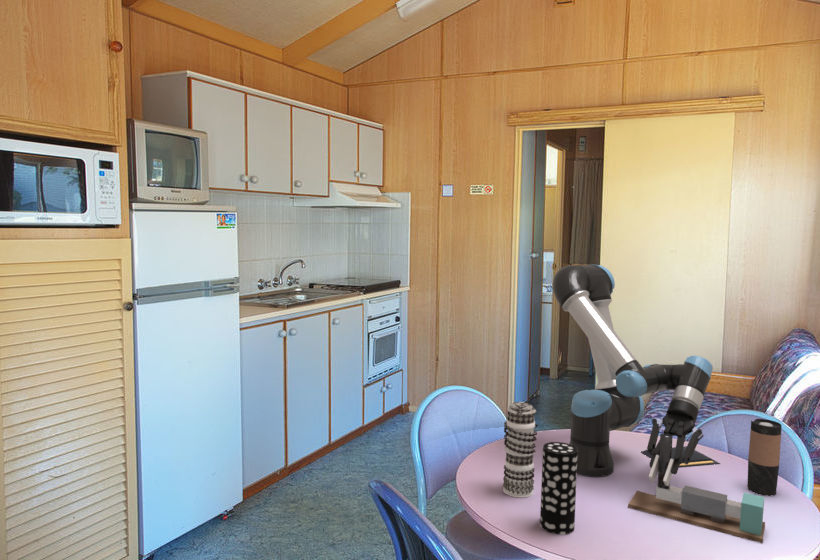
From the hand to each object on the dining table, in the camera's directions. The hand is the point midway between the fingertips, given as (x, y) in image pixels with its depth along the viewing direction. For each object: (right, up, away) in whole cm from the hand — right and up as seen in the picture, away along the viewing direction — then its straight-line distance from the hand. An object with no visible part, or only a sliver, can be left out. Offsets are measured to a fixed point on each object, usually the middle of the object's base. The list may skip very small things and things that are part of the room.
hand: (658, 481), depth 154 cm
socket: (+20, -10, -8) cm, 23 cm away
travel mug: (+36, -8, +16) cm, 40 cm away
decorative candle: (-34, -7, +12) cm, 37 cm away
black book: (+23, -7, +40) cm, 47 cm away
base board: (+9, -9, -1) cm, 13 cm away
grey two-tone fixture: (+10, -6, -2) cm, 12 cm away
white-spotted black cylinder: (-28, -9, -7) cm, 31 cm away
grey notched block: (+11, -9, -2) cm, 14 cm away
